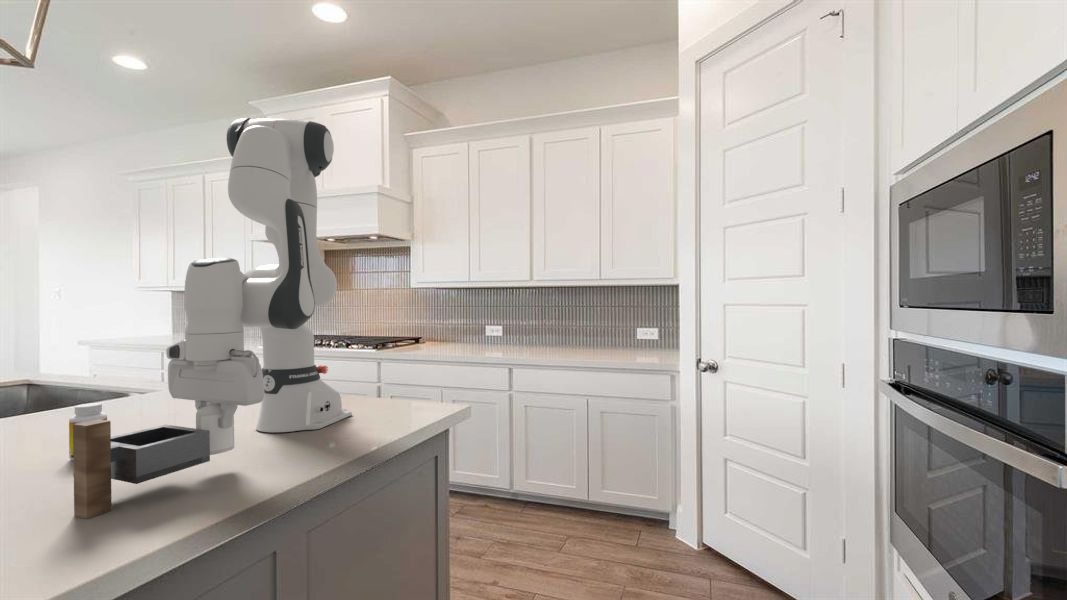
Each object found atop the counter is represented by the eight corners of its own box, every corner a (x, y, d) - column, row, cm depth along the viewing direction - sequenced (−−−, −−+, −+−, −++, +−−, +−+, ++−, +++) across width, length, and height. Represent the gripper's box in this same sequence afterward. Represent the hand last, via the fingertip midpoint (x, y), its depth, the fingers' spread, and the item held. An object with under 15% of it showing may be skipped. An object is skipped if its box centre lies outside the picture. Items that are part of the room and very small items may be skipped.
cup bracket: (166, 476, 87) (165, 401, 87) (210, 485, 83) (209, 406, 83) (58, 511, 73) (57, 421, 73) (104, 523, 69) (102, 428, 69)
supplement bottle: (66, 464, 94) (65, 409, 94) (72, 456, 98) (72, 404, 98) (105, 458, 97) (104, 405, 97) (109, 451, 102) (109, 400, 101)
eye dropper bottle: (230, 453, 88) (229, 385, 88) (193, 457, 86) (192, 387, 86) (236, 446, 92) (235, 381, 92) (200, 450, 90) (199, 383, 90)
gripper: (273, 348, 88) (274, 427, 88) (194, 345, 96) (196, 417, 96) (240, 352, 82) (241, 436, 83) (159, 348, 90) (161, 425, 90)
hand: (216, 426), depth 89 cm, fingers closed on eye dropper bottle, 3 cm apart
